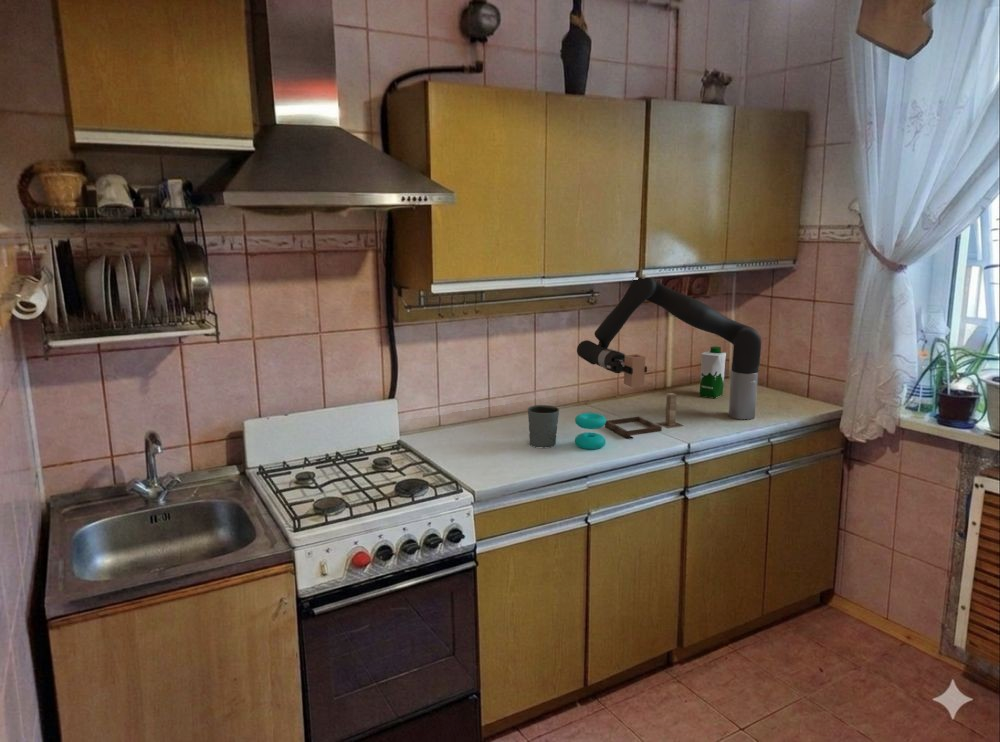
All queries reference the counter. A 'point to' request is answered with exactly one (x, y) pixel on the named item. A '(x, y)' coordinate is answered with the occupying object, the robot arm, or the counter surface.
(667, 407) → the post
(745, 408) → the robot arm
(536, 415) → the grey tapered cup
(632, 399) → the counter surface
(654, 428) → the tray
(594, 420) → the donuts
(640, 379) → the sleeve
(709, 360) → the milk carton
